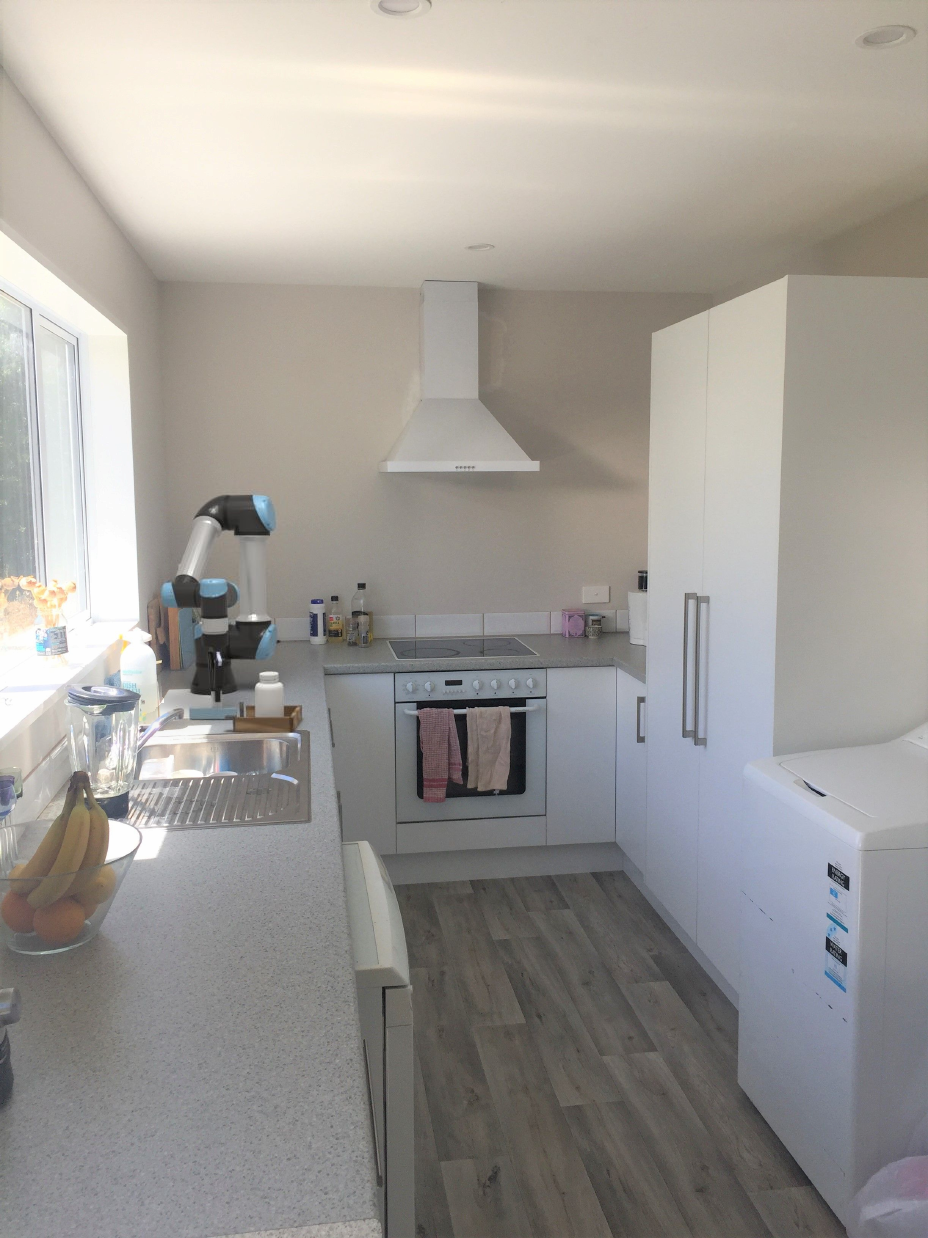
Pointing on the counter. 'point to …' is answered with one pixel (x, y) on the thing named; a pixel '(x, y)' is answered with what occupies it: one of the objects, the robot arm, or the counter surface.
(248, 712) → the tray
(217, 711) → the gate
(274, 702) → the pill bottle
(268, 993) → the counter surface
